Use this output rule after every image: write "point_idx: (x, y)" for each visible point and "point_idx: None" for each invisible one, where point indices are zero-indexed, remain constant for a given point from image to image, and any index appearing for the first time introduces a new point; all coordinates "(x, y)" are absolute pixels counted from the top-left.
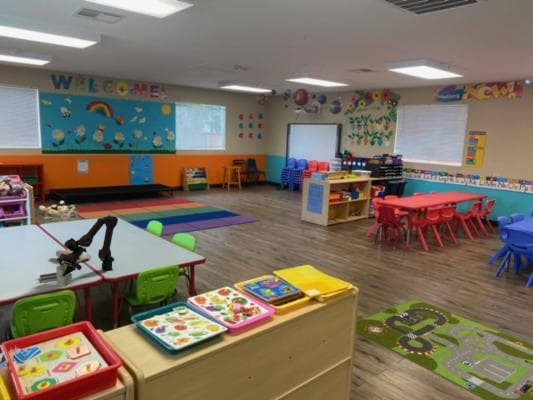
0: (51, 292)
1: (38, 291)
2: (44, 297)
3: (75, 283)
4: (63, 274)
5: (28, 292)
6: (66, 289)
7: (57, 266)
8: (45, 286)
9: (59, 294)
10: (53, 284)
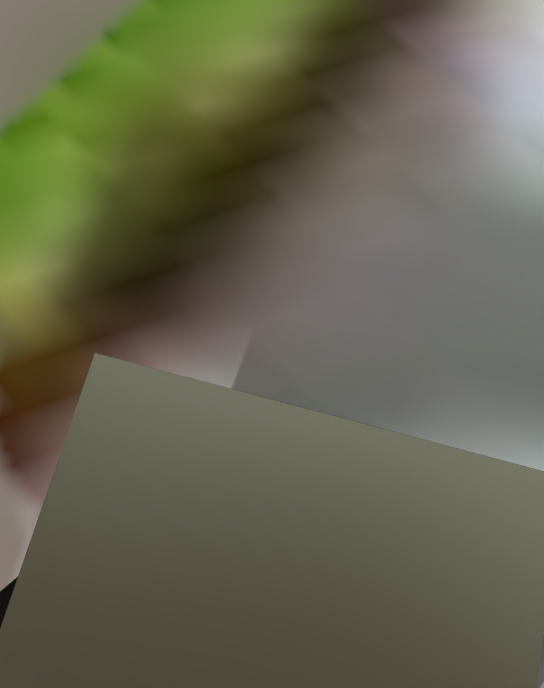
0: (195, 172)
1: (408, 141)
2: (162, 12)
3: None
4: None
5: (509, 72)
6: (45, 345)
7: (541, 565)
8: (474, 330)
9: (24, 151)
10: None
